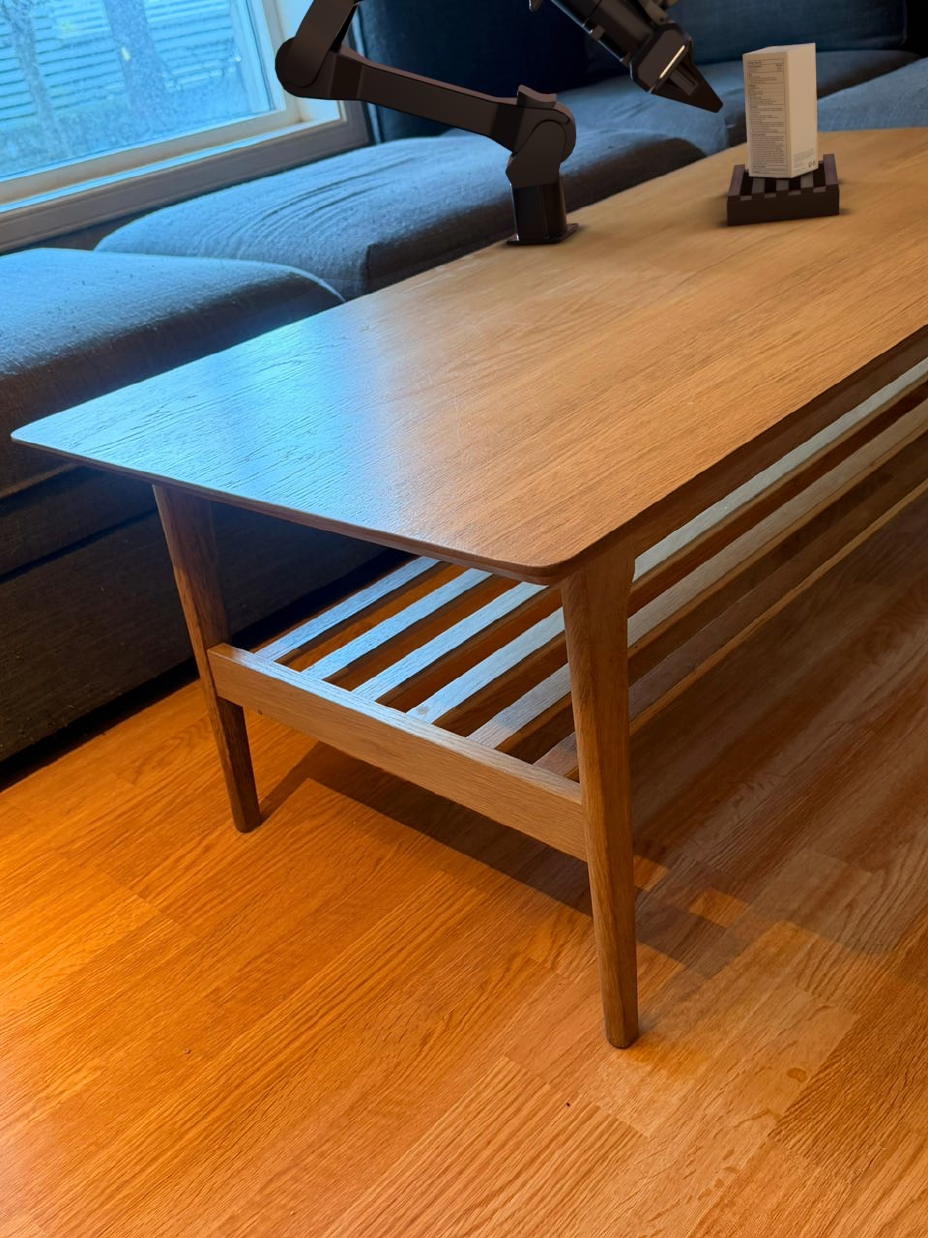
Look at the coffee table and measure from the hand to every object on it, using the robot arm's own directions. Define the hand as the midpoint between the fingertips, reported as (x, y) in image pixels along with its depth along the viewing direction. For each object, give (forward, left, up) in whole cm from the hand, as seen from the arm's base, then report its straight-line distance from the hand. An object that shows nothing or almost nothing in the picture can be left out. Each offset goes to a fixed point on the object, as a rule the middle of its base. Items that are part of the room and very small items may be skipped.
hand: (715, 102), depth 117 cm
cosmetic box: (+2, -6, -8) cm, 10 cm away
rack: (+2, -6, -11) cm, 13 cm away
